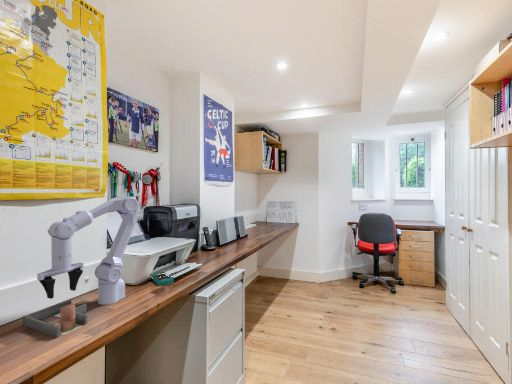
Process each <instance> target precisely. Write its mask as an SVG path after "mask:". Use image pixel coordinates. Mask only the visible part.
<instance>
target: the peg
mask: <svg viewBox="0 0 512 384" xmlns="http://www.w3.org/2000/svg"><path fill="white" fill-rule="evenodd" d="M75 307H76V304H71V305H66V306H63V307H61V308H60V312H59V313H60V317H59V318H60V320H59V321H60V323H59V324H60V326H59V327H60V331H61V332H67V331H71V330H73V329H74V328H75V324H76V322H75ZM73 331H74V330H73ZM71 332H72V331H71Z"/></svg>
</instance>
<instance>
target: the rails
mask: <svg viewBox="0 0 512 384" xmlns="http://www.w3.org/2000/svg"><path fill="white" fill-rule="evenodd" d="M66 305H72V299H68V300H65V301H63V302H62V301H61V302H60V303H57V304H56V303H55V304H53V305H51V306H48V307H45V308H43V309H40V310H37V311H34V312H31V313H29V314H26V315H24V316H22V326H24V327H26V328H30V329H32V330H34V331H37V332H40V333H43V334H46V335H48V336H51V337H53V338H54V337H55V338H56V339H58V338H60V337H61V334H60V326H57V325H55V324H52V323H50V322H46V321H43V319H46V318H48V317H50V316H54V315H57V314H59V313H60V308H61V307H63V306H66ZM87 307H88V305H87V303H83V304H80V305H78V306H75V323H79V324H80V325H81V324H82V325H87V324H89V323H88V314H85V313H87V311H88V308H87Z"/></svg>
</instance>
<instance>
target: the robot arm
mask: <svg viewBox="0 0 512 384" xmlns="http://www.w3.org/2000/svg"><path fill="white" fill-rule="evenodd" d="M139 207H140V203H139V202H138V200H137V198H136V197H134V196H122V195H121V196H119V195H117V196H116V197H113V198H110V199H109V200H107V201H105V202H103V203H101V204H99V205H98V206H96V207H94V208H92V209H90V210H89V211H86V210H77V211H75V214H73V215H70V216H68V217H63V218H62V221H59V220H57V221H55V222H53V223H51V225H50V226H49V228H48V229H47V233H48V235H49V237H51V239H50V240H51V241H50V242H51V247H50V248H51V250H50V251H51V255H50V256H51V268H50V269H47V270H45V271H42V272H38V273H36V279H37V280H38V281H39V283H40V284H41V285H42V288H43V289H44V291H45V294H46V297H47V299H50V300H51V299H54V297H55V296H54V295H55V291H54V289H55V283H56V279H55V278H53V277H55V276H58V275H62V274H65V273H67V275H68V279H69V290H70V291H73V292H75V291H76V290H77V287H78V282H79V280H80V277H82V275H83V273H84V271H83V269H84V263H83V262H77V263H72V237H73V236H74V234H75V233H76V232H78V231H80V230H82V229H83V228H85V227H87V226H89V225H91V224H92V223H93V221H94V220H95V219H96V218H99V217H101V216H103V215H106V214H107V213H109V212H111V211H115V212H116V213H118V215H119V216H120V218H121V219H122V221H121V223H120V226H119V227H118V230H117V233H116V235H115V237H114V240H113V241H112V244H111V246H110V248H109V251H108V254H107V255H106V257H104V258H102V259H101V261H100V263H99V264H98V265H97V266H96V268H95V269H94V276H95V277H96V278H97V283H98V284H97V287H98V288H97V299H98V300H97V303H98V304H99V305H103V306H104V305H105V306H107V305H112V304H115V303H116V302H118V301H120V300H122V299H125V298H126V282H125V281H124V279H123V278H122V274H123V267H124V264H123V261H122V259H123V256H124V253H125V251H126V249H127V246H128V244H129V241H130V240H131V239H130V238H131V236H132V234H133V231H134V229H135V227H136V224H137V222H138V214H139V213H138V211H139Z"/></svg>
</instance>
